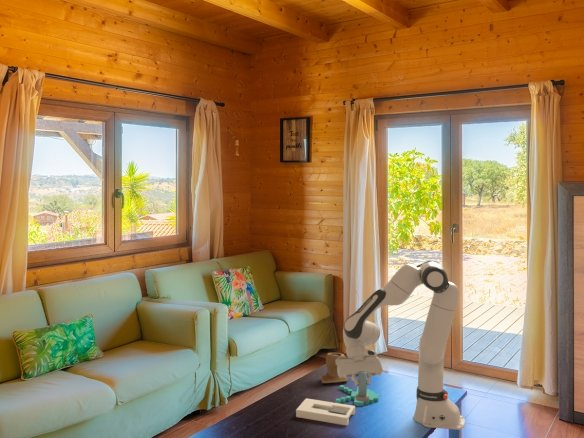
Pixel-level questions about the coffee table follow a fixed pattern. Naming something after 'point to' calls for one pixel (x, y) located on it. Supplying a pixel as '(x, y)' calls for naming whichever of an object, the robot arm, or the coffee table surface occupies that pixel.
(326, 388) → the coffee table surface
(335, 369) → the stone cup
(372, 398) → the alien figure
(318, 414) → the keyhole track
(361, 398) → the round-topped green peg
